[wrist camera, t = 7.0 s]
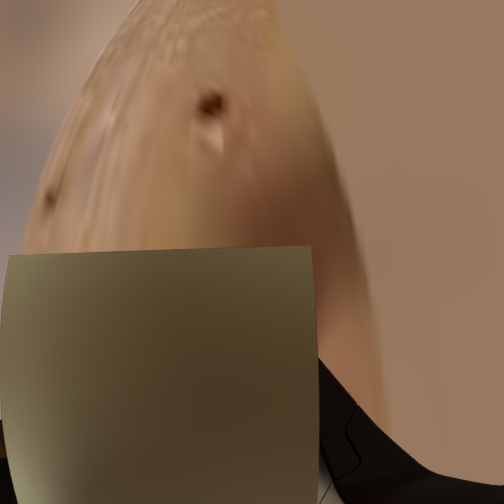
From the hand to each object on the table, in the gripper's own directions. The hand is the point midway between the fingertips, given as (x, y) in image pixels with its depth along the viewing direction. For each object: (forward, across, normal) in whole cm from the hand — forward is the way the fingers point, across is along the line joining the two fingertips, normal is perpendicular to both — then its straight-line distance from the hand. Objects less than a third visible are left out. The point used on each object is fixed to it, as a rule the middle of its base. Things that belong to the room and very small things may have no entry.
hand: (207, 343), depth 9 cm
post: (+4, 0, +6) cm, 7 cm away
